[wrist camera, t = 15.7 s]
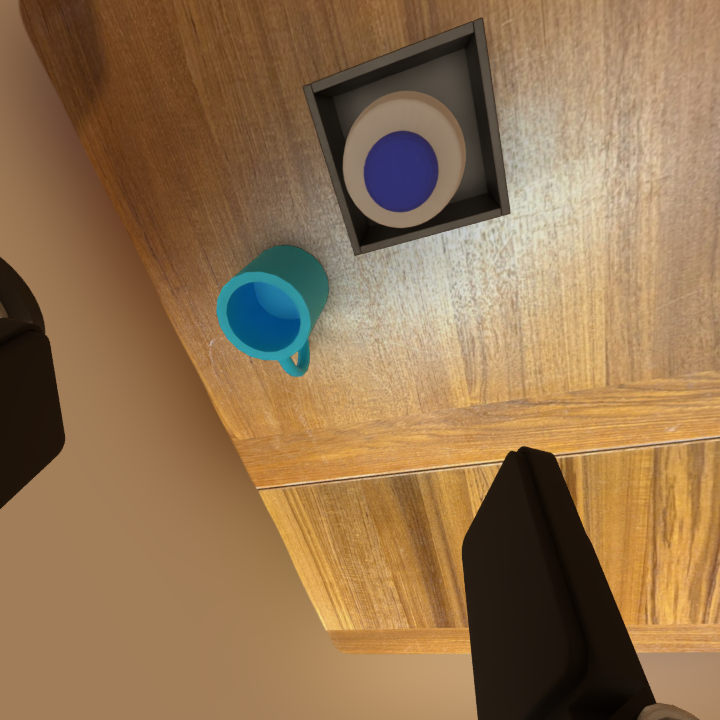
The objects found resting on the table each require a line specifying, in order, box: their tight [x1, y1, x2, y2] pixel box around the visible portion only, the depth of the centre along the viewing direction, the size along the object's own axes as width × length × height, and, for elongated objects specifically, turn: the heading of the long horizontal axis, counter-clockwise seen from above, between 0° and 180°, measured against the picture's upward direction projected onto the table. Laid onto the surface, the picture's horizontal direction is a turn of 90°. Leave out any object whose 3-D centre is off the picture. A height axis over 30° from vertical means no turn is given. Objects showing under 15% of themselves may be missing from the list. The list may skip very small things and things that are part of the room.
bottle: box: [343, 91, 466, 228], centre depth 27 cm, size 7×7×20 cm
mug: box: [217, 245, 329, 377], centre depth 41 cm, size 12×8×8 cm
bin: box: [303, 18, 511, 256], centre depth 33 cm, size 12×12×8 cm
